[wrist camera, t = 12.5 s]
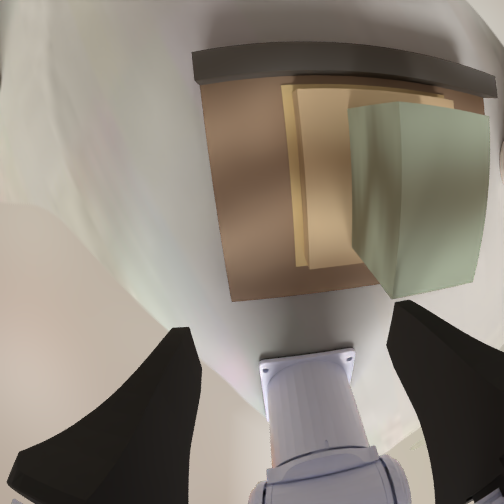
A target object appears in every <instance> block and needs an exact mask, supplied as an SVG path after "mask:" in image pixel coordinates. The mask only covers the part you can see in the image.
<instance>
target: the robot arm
mask: <svg viewBox="0 0 504 504" xmlns="http://www.w3.org/2000/svg"><path fill="white" fill-rule="evenodd" d="M386 346H387V349H388V352H389V355H390V358H391V360H392V363H393V366H394V368H395V371H396V373H397V375H398V377H399V379H400V381H401V383H402V385H403V387H404V389H405V391H406V393H407V395H408V397H409V399H410V401H411V403H412V405H413V407H414V409H415V411H416V414H417V416H418V419H419V421H420V424H421V427H422V431H423V434H424V437H425V441H426V445H427V449H428V453H429V457H430V462H431V468H432V473H433V480H434V489H435V504H467V503H469V502H471V501H473V500H474V504H504V352H502V351H500V350H497V349H495V348H493V347H491V346H489V345H486V344H484V343H482V342H480V341H478V340H477V339H475V338H473V337H471V336H469V335H468V334H466V333H464V332H462V331H461V330H459V329H457V328H456V327H454V326H452V325H451V324H449V323H447V322H446V321H444V320H443V319H441V318H439V317H438V316H436V315H435V314H433V313H431V312H430V311H428V310H427V309H425V308H423V307H422V306H420V305H418V304H416V303H415V302H413V301H411V300H405V301H400V302H395V305H394V311H393V316H392V321H391V326H390V331H389V335H388V340H387V344H386ZM355 355H356V352H355V350H354V348H346V349H340V350H334V351H328V352H321V353H315V354H307V355H300V356H292V357H283V358H274V359H264V360H261V361H260V362H259V371H260V377H261V384H262V391H263V398H264V405H265V412H266V419H267V422H269V426H270V442H271V458H272V468H270V469H267V481H261V482H258V484H257V485H256V487H255V488H254V489H253V490H252V491H251V493H250V496H249V501H248V504H411V493H410V488H409V485H408V481H407V478H406V475H405V472H404V470H403V468H402V467H401V464H400V463H399V462H398V461H397V460H396V459H394V458H392V457H390V456H389V455H388V454H384V455H381V456H379V455H378V452H377V449H376V446H371V447H370V446H369V443H368V440H367V436H366V433H365V430H364V427H363V423H362V420H361V417H360V414H359V411H358V408H357V405H356V402H355V399H354V395H353V392H352V389H351V386H350V382H351V377H352V372H353V366H354V361H355ZM348 357H350V358H348ZM201 377H202V367H201V364H200V361H199V357H198V354H197V351H196V348H195V345H194V341H193V338H192V335H191V331H190V328H189V327H180V328H172V329H171V330H170V331H169V332H168V334H167V335H166V336H165V337H164V338H163V340H162V341H161V342H160V343H159V344H158V346H157V347H156V348H155V349H154V350H153V352H152V353H151V354H150V355H149V356H148V358H147V359H146V360H145V361H144V362H143V363H142V364H141V366H140V367H139V368H138V369H137V370H136V371H135V372H134V373H133V374H132V375H131V376H130V378H129V379H128V380H127V381H126V382H125V383H124V384H123V385H122V386H121V387H120V388H119V389H118V390H117V391H116V392H115V393H114V394H112V395H111V396H110V397H109V398H108V399H107V400H106V401H105V402H103V403H102V404H101V405H100V406H99V407H97V408H96V409H95V410H93V411H92V412H91V413H89V414H88V415H87V416H85V417H84V418H82V419H81V420H80V421H78V422H77V423H75V424H74V425H73V426H71V427H69V428H68V429H66V430H64V431H63V432H61V433H59V434H57V435H55V436H54V437H52V438H50V439H48V440H46V441H44V442H42V443H39V444H37V445H35V446H32V447H30V448H28V449H25V450H23V451H20V452H19V453H18V456H17V458H16V460H15V462H14V465H13V467H12V470H11V472H10V475H9V477H8V480H7V484H8V485H9V486H10V487H11V488H12V489H13V490H15V491H16V492H18V493H19V494H21V495H22V496H24V497H25V498H27V499H28V500H30V501H31V502H33V503H35V504H188V482H189V481H188V480H189V479H188V477H189V458H190V448H191V442H192V436H193V431H194V426H195V420H196V415H197V410H198V404H199V399H200V393H201ZM11 504H23V503H21V502H19V501H18V500H16V499H13V500H12V503H11Z"/></svg>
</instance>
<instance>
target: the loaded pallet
mask: <svg viewBox="0 0 504 504" xmlns="http://www.w3.org/2000/svg"><path fill="white" fill-rule="evenodd" d="M292 98H293V107H294V116H295V126H296V136H297V146H298V158H299V170H300V183H301V198H302V214H303V232H304V255H305V259H306V262H307V264H308V267H309V269H318V268H326V267H334V266H342V265H350V264H358V263H365V265H366V266H367V267H368V269H369V270H370V271H371V272H372V274H373V275H374V276H375V278H376V279H377V280H378V282H379V283H380V284H381V286H382V287H383V288H384V290H385V291H386V292H387V294H388V295H389V296H390V298H391V299H396V298H401V297H406V296H412V295H417V294H421V293H426V292H431V291H436V290H440V289H445V288H449V287H454V286H458V285H462V284H466V283H471V282H473V279H474V275H475V270H476V266H477V262H478V257H479V252H480V247H481V241H482V236H483V229H484V223H485V215H486V207H487V198H488V186H489V169H490V127H489V116H485V115H481V114H476V113H472V112H467V111H462V110H457V109H454V103H453V100H448V99H442V98H437V97H431V96H424V95H417V94H409V93H401V92H391V91H380V90H365V89H339V88H312V89H296V90H295V91H294V92H293V93H292Z"/></svg>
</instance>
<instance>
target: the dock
mask: <svg viewBox="0 0 504 504" xmlns="http://www.w3.org/2000/svg"><path fill="white" fill-rule="evenodd" d="M192 61H193V70H194V79H195V81H196V82H197V83H198V84H199V85H200V90H201V99H202V107H203V115H204V123H205V130H206V138H207V146H208V153H209V160H210V167H211V175H212V182H213V188H214V195H215V202H216V209H217V215H218V222H219V228H220V234H221V241H222V247H223V253H224V259H225V265H226V271H227V277H228V283H229V289H230V295H231V300H232V302H236V301H247V300H257V299H267V298H276V297H285V296H294V295H303V294H311V293H319V292H327V291H334V290H341V289H349V288H356V287H363V286H369V285H376V284H380V283H379V282H378V280H377V279H376V278H375V276H374V275H373V274H372V272H371V271H370V270H369V269H368V267H367V266H366V265H365V263H358V264H350V265H342V266H334V267H326V268H318V269H309V267H308V264H307V262H306V259H305V255H304V232H303V214H302V198H301V183H300V170H299V158H298V146H297V136H296V126H295V116H294V107H293V98H292V93H293V92H294V91H295V90H296V89H312V88H339V89H365V90H380V91H391V92H401V93H409V94H417V95H424V96H431V97H437V98H442V99H448V100H453V103H454V109H457V110H462V111H467V112H472V113H476V114H481V115H485V113H484V101H483V98H498V97H497V88H496V80H495V76H493V75H490V74H488V73H485V72H482V71H479V70H476V69H473V68H470V67H467V66H464V65H461V64H458V63H454V62H451V61H447V60H444V59H440V58H436V57H432V56H427V55H423V54H418V53H414V52H409V51H403V50H398V49H392V48H385V47H378V46H370V45H361V44H350V43H336V42H271V43H256V44H245V45H236V46H227V47H220V48H213V49H207V50H201V51H196V52H192Z"/></svg>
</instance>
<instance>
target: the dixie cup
mask: <svg viewBox="0 0 504 504" xmlns="http://www.w3.org/2000/svg"><path fill="white" fill-rule="evenodd" d="M500 173H501V177H502V181H503V184H504V141H503V144H502V147H501V152H500Z"/></svg>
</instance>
